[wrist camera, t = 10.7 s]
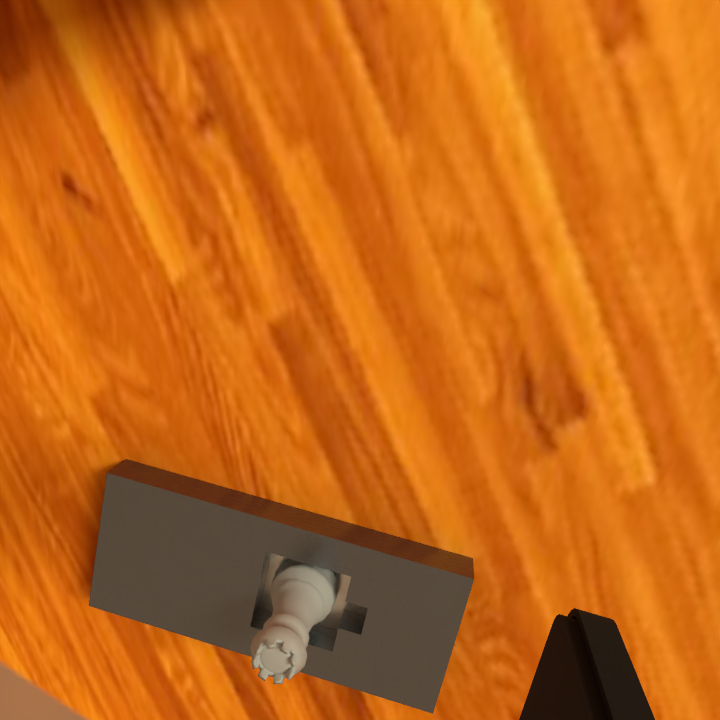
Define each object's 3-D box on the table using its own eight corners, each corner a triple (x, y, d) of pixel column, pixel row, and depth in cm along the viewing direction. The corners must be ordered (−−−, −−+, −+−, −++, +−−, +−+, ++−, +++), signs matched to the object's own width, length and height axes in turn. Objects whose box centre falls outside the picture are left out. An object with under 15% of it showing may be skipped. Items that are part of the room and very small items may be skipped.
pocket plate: (126, 459, 42) (107, 472, 39) (472, 558, 39) (473, 579, 37) (108, 585, 44) (88, 605, 42) (434, 686, 42) (432, 713, 39)
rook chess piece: (353, 587, 41) (330, 671, 33) (306, 624, 42) (273, 713, 34) (308, 539, 40) (274, 612, 33) (261, 576, 42) (218, 656, 34)
